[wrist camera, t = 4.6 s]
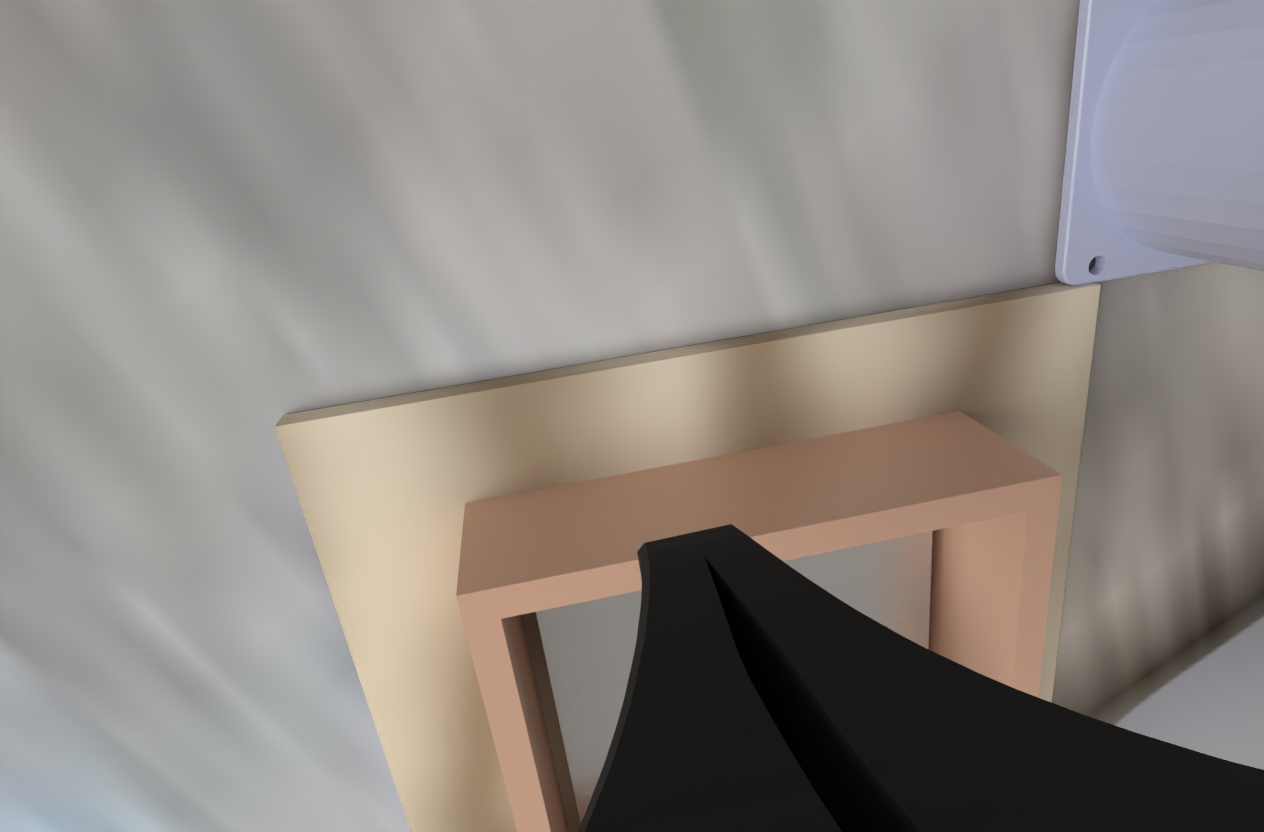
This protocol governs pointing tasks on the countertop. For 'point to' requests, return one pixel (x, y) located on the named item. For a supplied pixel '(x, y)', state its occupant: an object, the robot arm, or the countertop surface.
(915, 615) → the square lid with knob
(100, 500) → the countertop surface
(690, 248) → the countertop surface
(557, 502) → the pink square tray
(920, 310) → the serving board
